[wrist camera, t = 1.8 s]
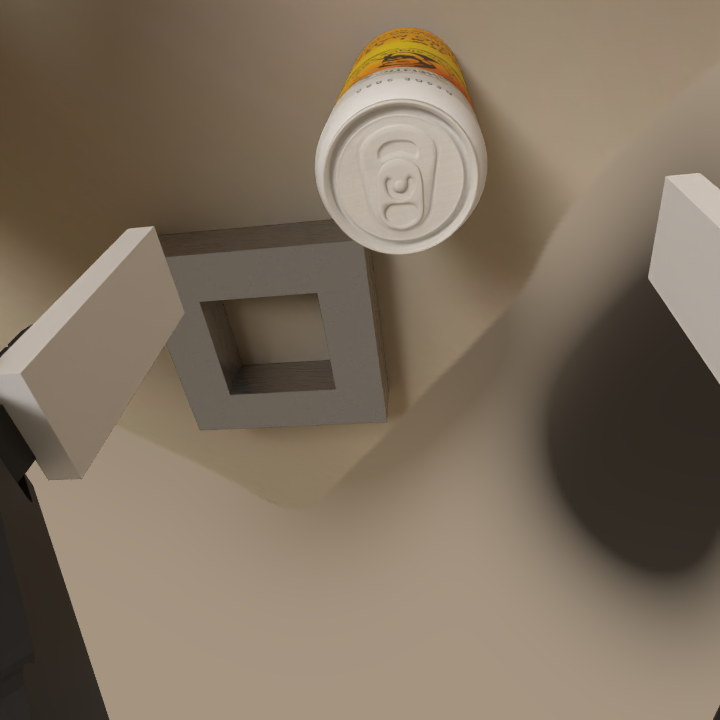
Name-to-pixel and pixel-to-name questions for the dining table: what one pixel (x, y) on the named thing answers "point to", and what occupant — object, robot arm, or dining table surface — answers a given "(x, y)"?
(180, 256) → the collar
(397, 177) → the beer can
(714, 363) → the robot arm
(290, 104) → the dining table surface
